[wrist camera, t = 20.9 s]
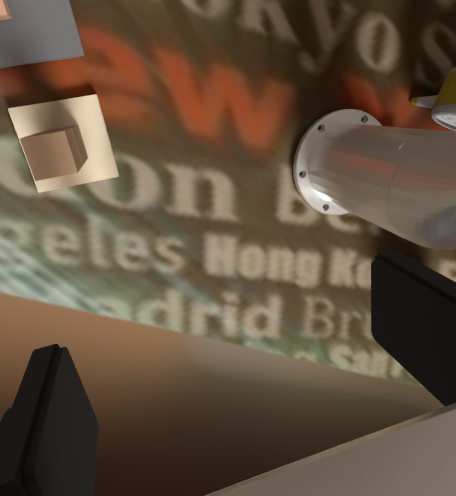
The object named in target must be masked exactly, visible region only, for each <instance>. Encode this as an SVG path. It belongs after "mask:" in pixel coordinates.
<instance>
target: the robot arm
mask: <svg viewBox="0 0 456 496" xmlns="http://www.w3.org/2000/svg"><path fill="white" fill-rule="evenodd" d="M361 118H362V120H361ZM318 127H320V128H319V130H318ZM300 172H301V174H300V175H299V173H300ZM293 177H294V181H295V186H296V188H297V190H298V193H299V195H300V196H301V197H302V199H303V200H304V201H305V202H306V203H307V204H308V205H309V206H310V207H312V208H313V209H315V210H317V211H319V212H321V213H324V214H329V215H342V214H346V213H352V214H354V215H357V216H359V217H361V218H363V219H365V220H367V221H369V222H371V223H373V224H375V225H377V226H379V227H381V228H383V229H386V230H388V231H390V232H392V233H394V234H396V235H398V236H400V237H402V238H404V239H407V240H409V241H411V242H413V243H415V244H417V245H420V246H423V247H426V248H431V249H439V250H448V249H456V132H447V131H435V130H423V129H412V128H400V127H388V126H382V125H381V124H380V123H379V122H378V120H377V119H376V118H374V117H373V116H372V115H370V114H369V113H366V112H364V111H361V110H355V109H341V110H336V111H333V112H330V113H328V114H326V115H324V116H322V117H321V118H319V119H318V120H316V121H315V122H314V123H313V124H312V125H311V126H310V127H309V128H308V130H307V131H306V132H305V134H304V135H303V137H302V138H301V140H300V142H299V144H298V147H297V150H296V153H295V156H294V163H293ZM371 331H372V335H373V337H374V339H375V340H376V342H377V343H378V344H379V345H381V346H382V347H383V348H384V349H385V350H386V351H387V352H388V353H389V354H390V355H391V356H392V357H393V358H394V359H395V360H396V361H397V362H399V363H400V364H401V365H402V366H403V367H404V368H405V369H406V370H407V371H408V372H409V373H410V374H411V375H412V376H413V377H414V378H415V379H417V380H418V381H419V382H420V383H421V384H422V385H423V386H424V387H425V388H426V389H427V390H428V391H429V392H430V393H431V394H432V395H434V396H435V397H436V398H437V399H438V400H439V401H440V402H441V403H442V404H443V405H444V406H445V407H443V408H440V409H438V410H435V411H432V412H430V413H427V414H424V415H421V416H418V417H416V418H413V419H410V420H407V421H405V422H402V423H399V424H396V425H394V426H391V427H388V428H385V429H383V430H380V431H377V432H375V433H372V434H369V435H366V436H364V437H361V438H358V439H356V440H353V441H350V442H348V443H345V444H342V445H339V446H337V447H334V448H332V449H329V450H326V451H323V452H321V453H318V454H315V455H313V456H310V457H307V458H304V459H302V460H299V461H296V462H294V463H291V464H288V465H286V466H283V467H280V468H277V469H275V470H272V471H270V472H267V473H264V474H262V475H259V476H256V477H254V478H251V479H248V480H246V481H243V482H240V483H238V484H235V485H232V486H230V487H227V488H224V489H222V490H219V491H216V492H214V493H211V494H209V495H206V496H456V282H454V281H452V280H451V279H449V278H447V277H445V276H443V275H441V274H439V273H438V272H436V271H434V270H432V269H430V268H428V267H426V266H425V265H423V264H421V263H419V262H417V261H415V260H413V259H412V258H410V257H408V256H406V255H404V254H402V253H400V252H399V251H396V250H393V251H389V252H386V253H382V254H378V255H377V256H376V257H375V260H374V261H372V263H371ZM97 441H98V423H97V418H96V416H95V413H94V411H93V409H92V406H91V404H90V401H89V399H88V397H87V394H86V392H85V389H84V387H83V384H82V382H81V380H80V377H79V375H78V372H77V370H76V368H75V365H74V363H73V360H72V358H71V356H70V353H69V351H68V349H67V348H66V347H62V348H60V347H59V345H58V344H53V345H50V346H46V347H43V348H39V349H35V350H34V351H33V353H32V355H31V358H30V360H29V363H28V366H27V369H26V371H25V374H24V376H23V379H22V382H21V384H20V387H19V390H18V393H17V395H16V398H15V401H14V403H13V406H12V408H9V409H8V410H7V411H6V412H5V414H4V416H3V418H2V420H1V423H0V496H93V489H94V477H95V465H96V453H97Z"/></svg>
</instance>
